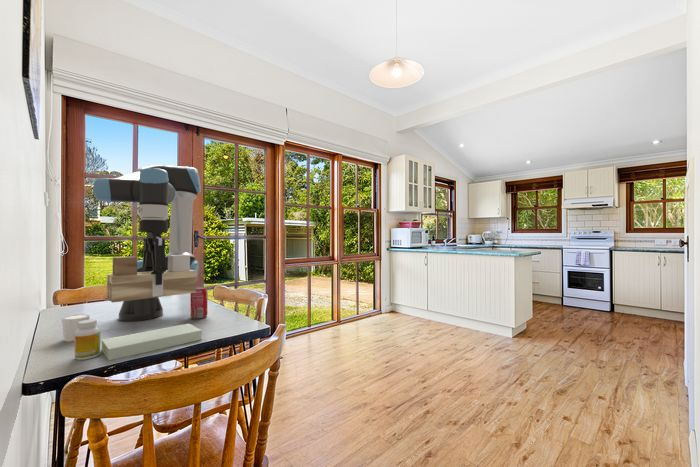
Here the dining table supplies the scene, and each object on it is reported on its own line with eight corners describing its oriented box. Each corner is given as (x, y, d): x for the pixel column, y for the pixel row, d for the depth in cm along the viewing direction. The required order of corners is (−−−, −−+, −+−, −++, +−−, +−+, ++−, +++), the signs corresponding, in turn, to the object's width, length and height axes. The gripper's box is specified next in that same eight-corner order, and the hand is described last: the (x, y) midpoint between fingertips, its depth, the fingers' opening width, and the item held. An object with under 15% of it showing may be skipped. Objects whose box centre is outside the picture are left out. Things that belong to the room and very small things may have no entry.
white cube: (167, 270, 103) (167, 255, 103) (184, 269, 107) (184, 254, 107) (172, 271, 100) (172, 255, 100) (189, 270, 103) (189, 255, 103)
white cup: (93, 337, 105) (93, 315, 105) (66, 343, 99) (66, 320, 99) (84, 333, 108) (84, 313, 108) (57, 339, 102) (58, 317, 102)
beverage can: (201, 314, 134) (201, 286, 134) (210, 316, 131) (210, 287, 131) (187, 318, 129) (187, 288, 129) (196, 320, 126) (196, 289, 126)
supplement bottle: (101, 356, 88) (101, 321, 88) (75, 362, 84) (75, 325, 84) (98, 351, 92) (98, 317, 92) (73, 356, 88) (73, 321, 88)
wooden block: (106, 298, 93) (107, 274, 93) (187, 289, 109) (187, 268, 109) (112, 302, 88) (112, 276, 88) (196, 292, 103) (196, 270, 103)
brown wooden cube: (112, 274, 93) (112, 257, 93) (132, 273, 97) (133, 256, 97) (116, 276, 90) (116, 258, 90) (137, 274, 93) (137, 257, 93)
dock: (101, 350, 93) (101, 339, 93) (189, 332, 110) (189, 323, 110) (108, 360, 86) (108, 349, 86) (201, 339, 103) (201, 330, 103)
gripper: (131, 220, 103) (131, 291, 103) (149, 217, 88) (148, 300, 88) (157, 221, 108) (157, 288, 108) (178, 218, 94) (178, 296, 94)
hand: (153, 293), depth 98 cm, fingers closed on wooden block, 8 cm apart
